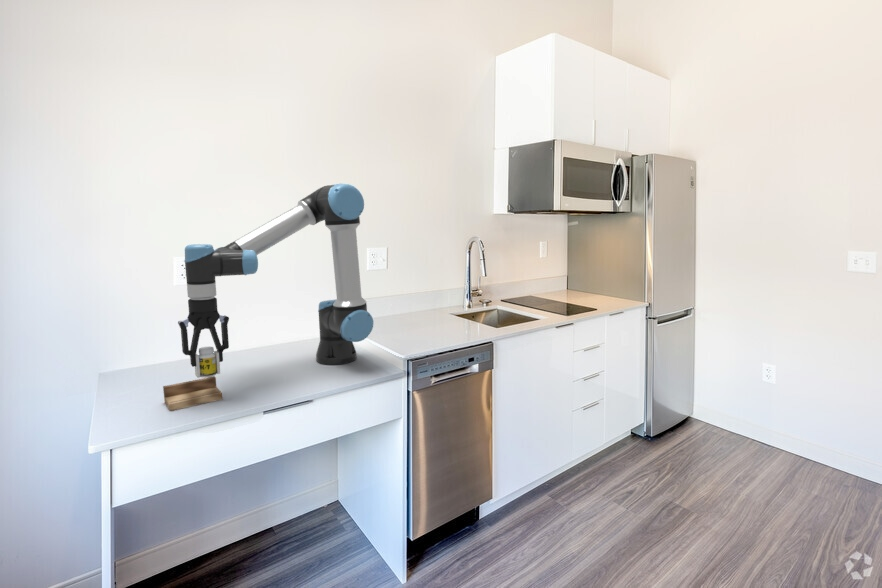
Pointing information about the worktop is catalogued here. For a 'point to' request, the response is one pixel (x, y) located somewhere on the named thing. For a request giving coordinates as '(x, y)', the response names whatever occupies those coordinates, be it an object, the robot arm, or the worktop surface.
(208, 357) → the supplement bottle
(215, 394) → the wooden stand
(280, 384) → the worktop surface
